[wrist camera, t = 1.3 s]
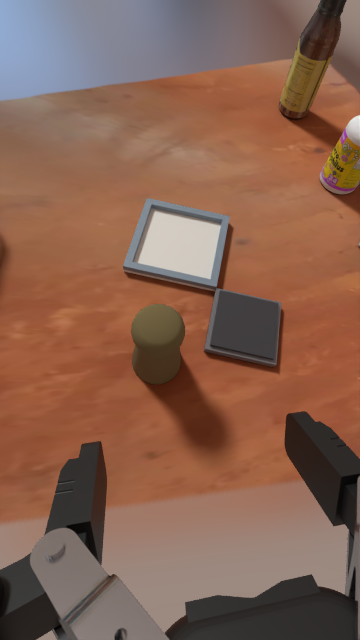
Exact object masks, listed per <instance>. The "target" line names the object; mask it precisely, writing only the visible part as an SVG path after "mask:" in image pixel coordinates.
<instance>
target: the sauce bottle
mask: <svg viewBox="0 0 360 640" xmlns="http://www.w3.org/2000/svg"><path fill="white" fill-rule="evenodd" d="M345 2H346V0H321V1H320V3H319V5H318V9H317V10H316V12H315V13H314V15H313V16H312V18H311V20H310V21H309V23H308V24H307V26H306V27H305V29H304V31H303V32H302V34H301V36H300V39H299V42H298V45H297V48H296V52H295V54H294V57H293V60H292V64H291V67H290V70H289V73H288V76H287V79H286V82H285V85H284V88H283V91H282V94H281V98H280V102H279V109H280V111H281V112H282V113H283V114H284V115H285V116H287V117H289V118H292V119H296V118H303V117H305V116H306V115H307V113H308V111H309V108H310V107H311V106H312V104H313V101H314V99H315V96H316V94H317V92H318V89H319V87H320V84H321V82H322V79H323V77H324V75H325V72H326V70H327V68H328V65H329V63H330V60H331V58H332V55H333V51H334V49H335V47H336V44H337V42H338V40H339V36H340V29H341V22H340V15H341V13H342V12H343V8H344V5H345Z"/></svg>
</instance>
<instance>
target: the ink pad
mask: <svg viewBox="0 0 360 640" xmlns="http://www.w3.org/2000/svg"><path fill="white" fill-rule="evenodd" d="M280 312H281V302H277V301H272V300H268V299H263V298H259V297H254V296H250V295H245V294H241V293H236V292H232V291H227V290H223V289H218V288H216V290H215V294H214V299H213V305H212V310H211V316H210V321H209V326H208V332H207V337H206V342H205V348H204V352H209V353H213V354H217V355H222V356H226V357H231V358H235V359H239V360H244V361H248V362H253V363H257V364H262V365H266V366H270V367H274V366H276V364H277V351H278V338H279V325H280Z"/></svg>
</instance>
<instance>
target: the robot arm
mask: <svg viewBox="0 0 360 640" xmlns="http://www.w3.org/2000/svg"><path fill="white" fill-rule="evenodd" d="M285 449H286V452H287V455H288V457H289V459H290V460H291V462H292V463H293V465H294V466H295V468H296V469H297V471H298V472H299V474H300V475H301V477H302V478H303V480H304V481H305V483H306V485H307V486H308V487H309V489H310V491H311V492H312V493H313V495H314V497H315V498H316V500H317V501H318V503H319V504H320V506H321V507H322V509H323V511H324V512H325V514H326V515H327V517H328V518H329V520H330V521H331V523H332V524H333V526H338V525H342V524H345V525H346V526H347V528H348V529H349V532H348V544H347V565H346V586H345V595H344V594H342V593H340V592H338V591H335V590H332V589H329V588H325V587H318V586H317V584H316V582H315V580H314V578H313V576H312V575H307V576H303V577H298V578H294V579H289V580H285V581H281V582H280V583H278V584H277V585H275V586H273V587H271V588H270V589H268V590H266V591H265V592H263V593H262V594H260V595H258V596H257V597H255V598H242V597H232V596H220V595H217V596H212V597H208V598H203V599H199V600H194V601H190V602H186V603H185V605H186V615H185V616H184V617H182V618H180V619H179V620H178V621H177V622H175V623H174V624H173V625H172V626H171V627H170V628H169V629H168V630H167V631H166V632H165V633H164V632H163V631H162V630H161V629H160V627H159V626H158V625H157V624H156V622H155V621H154V620H153V619H152V618H151V616H150V615H149V614H148V613H147V611H146V610H145V609H144V608H143V606H142V605H141V604H140V603H139V602H138V600H137V599H136V598H135V596H134V595H133V594H132V593H131V592H130V590H129V589H128V588H127V587H126V585H125V584H124V583H123V582H122V581H121V579H120V578H119V577H118V576H116V575H114V574H113V575H112V576H109V575H108V574H107V573H106V571H105V570H104V569H103V568H102V566H101V563H102V548H103V533H104V520H105V506H106V491H107V475H106V467H105V461H104V455H103V449H102V444H101V441H98V442H92V443H85V444H82V445H81V450H80V455H79V458H76V459H69V460H68V461H67V463H66V464H65V465H64V467H63V468H62V469H61V471H60V475H59V479H58V485H57V487H56V491H55V495H54V500H53V504H52V508H51V512H50V516H49V520H48V524H47V528H46V532H45V535H44V536H43V537H42V538H41V539H40V540H39V541H38V542H37V543H36V545H35V546H34V548H33V550H32V552H31V553H30V554H29V555H27V556H26V557H24V558H23V559H21V560H19V561H17V562H15V563H13V564H11V565H9V566H7V567H5V568H3V569H1V570H0V640H36V639H38V638H39V637H41V636H43V635H44V634H46V633H48V632H49V631H51V630H52V631H53V633H54V635H55V637H56V639H57V640H360V459H359V458H358V457H357V456H356V455H355V453H354V452H353V451H352V450H351V449H350V448H349V447H348V446H346V444H345V443H344V442H343V441H342V440H341V439H340V438H339V436H338V435H337V434H336V433H335V432H334V431H333V430H332V429H331V428H330V427H328V426H326V425H325V424H323V423H321V422H320V421H319V422H315V421H314V420H313V419H312V418H311V416H310V415H309V414H308V413H307V412H305V411H303V412H296V413H290V414H287V417H286V429H285Z"/></svg>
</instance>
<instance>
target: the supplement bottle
mask: <svg viewBox="0 0 360 640" xmlns="http://www.w3.org/2000/svg"><path fill="white" fill-rule="evenodd" d="M320 181H321V183H322V184H323V186H324V187H325V188H326V189H328V190H329V191H331V192H333V193H336V194H348V193H351V192H352V191H354V190H355V189H356V188H357V186H358V185H359V184H360V115H359V116H356V117H355V118H353V119H352V120H351V121H350V122H349V123H348V125H347V127H346V129H345V130H344V132H343V134H342V136H341V137H340V139H339V141H338V143H337V144H336V146H335V148H334V150H333V151H332V153H331V155H330V156H329V158H328V160H327V162H326V163H325V165H324V167H323V169H322V171H321V173H320Z"/></svg>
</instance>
